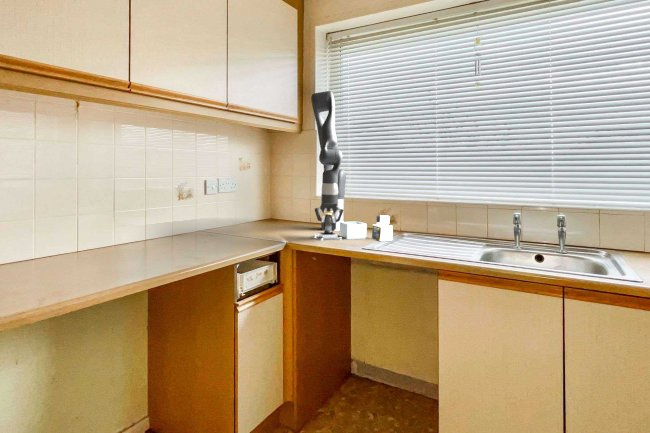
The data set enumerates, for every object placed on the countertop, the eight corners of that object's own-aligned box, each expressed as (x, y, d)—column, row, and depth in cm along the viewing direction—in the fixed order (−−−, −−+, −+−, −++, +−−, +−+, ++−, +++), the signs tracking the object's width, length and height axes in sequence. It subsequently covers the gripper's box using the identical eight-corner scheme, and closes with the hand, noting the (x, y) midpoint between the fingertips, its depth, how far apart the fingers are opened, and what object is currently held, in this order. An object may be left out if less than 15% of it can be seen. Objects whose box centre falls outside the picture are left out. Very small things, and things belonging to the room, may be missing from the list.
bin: (339, 238, 185) (339, 221, 184) (357, 237, 189) (358, 221, 188) (346, 241, 177) (347, 224, 176) (366, 240, 181) (366, 224, 180)
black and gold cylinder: (322, 238, 176) (322, 210, 175) (324, 236, 181) (325, 210, 179) (332, 238, 175) (333, 211, 174) (334, 237, 180) (335, 210, 178)
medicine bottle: (371, 239, 186) (372, 214, 185) (383, 238, 189) (384, 214, 188) (380, 241, 180) (381, 216, 178) (392, 240, 183) (393, 216, 182)
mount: (310, 238, 182) (311, 231, 181) (334, 237, 186) (334, 231, 186) (319, 243, 171) (319, 236, 170) (344, 242, 175) (344, 235, 174)
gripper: (312, 193, 173) (312, 230, 175) (344, 194, 171) (342, 232, 173) (315, 192, 180) (315, 228, 182) (345, 193, 178) (344, 230, 180)
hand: (328, 230), depth 177 cm, fingers closed on black and gold cylinder, 4 cm apart
